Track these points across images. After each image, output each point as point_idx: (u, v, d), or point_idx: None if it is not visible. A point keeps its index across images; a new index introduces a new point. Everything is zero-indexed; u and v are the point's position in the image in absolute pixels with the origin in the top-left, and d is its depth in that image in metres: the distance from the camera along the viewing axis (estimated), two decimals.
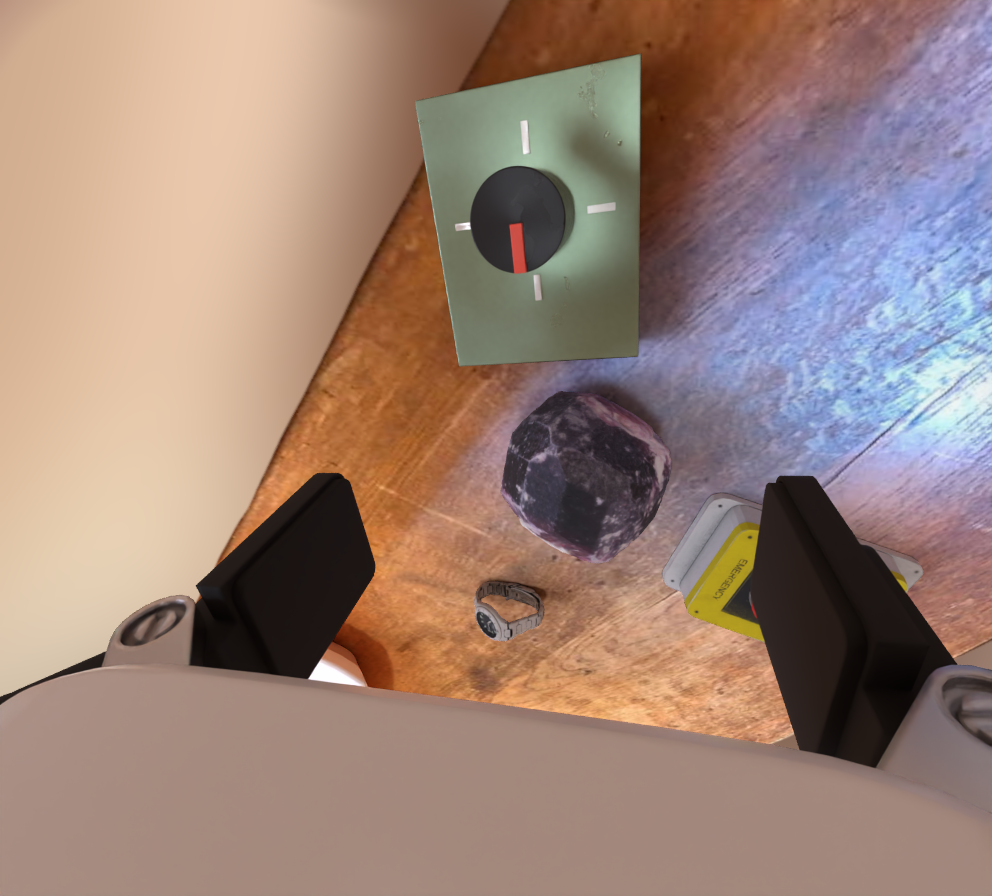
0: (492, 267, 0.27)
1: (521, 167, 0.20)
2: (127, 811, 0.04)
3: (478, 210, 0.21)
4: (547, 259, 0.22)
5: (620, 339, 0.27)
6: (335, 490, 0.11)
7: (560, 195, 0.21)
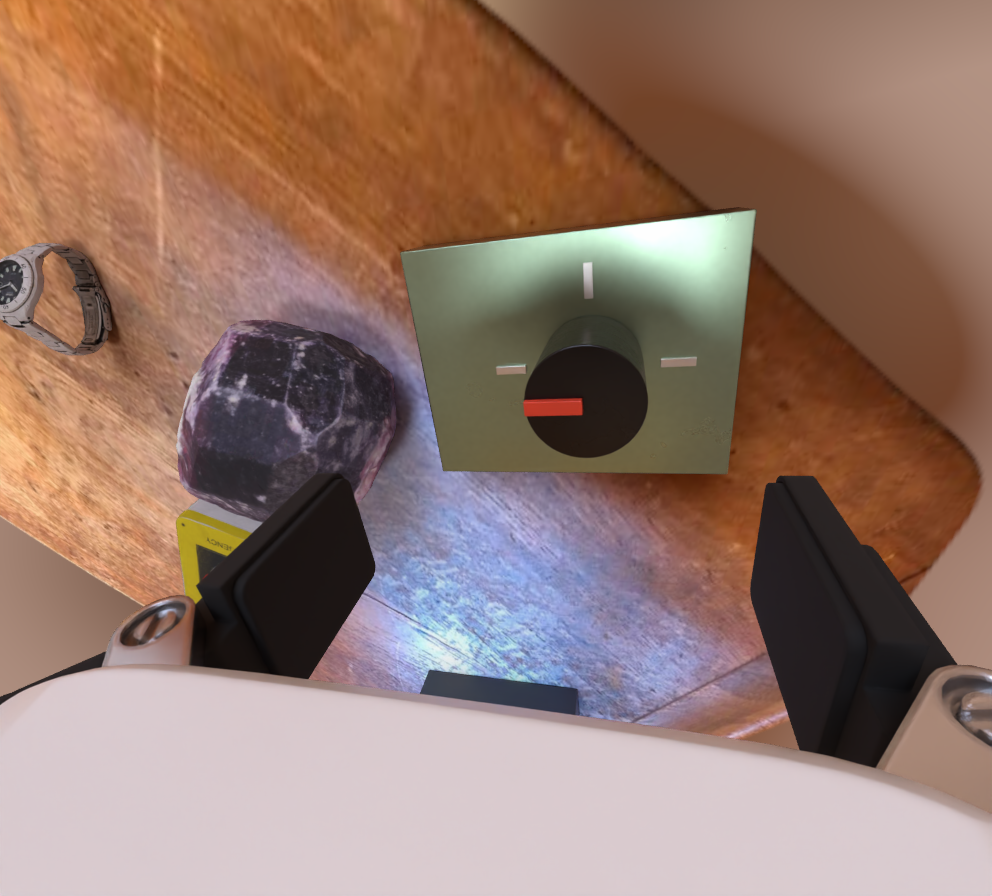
0: (535, 312, 0.20)
1: (644, 414, 0.17)
2: (127, 811, 0.04)
3: (602, 358, 0.16)
4: (539, 437, 0.18)
5: (459, 455, 0.25)
6: (335, 490, 0.11)
7: None
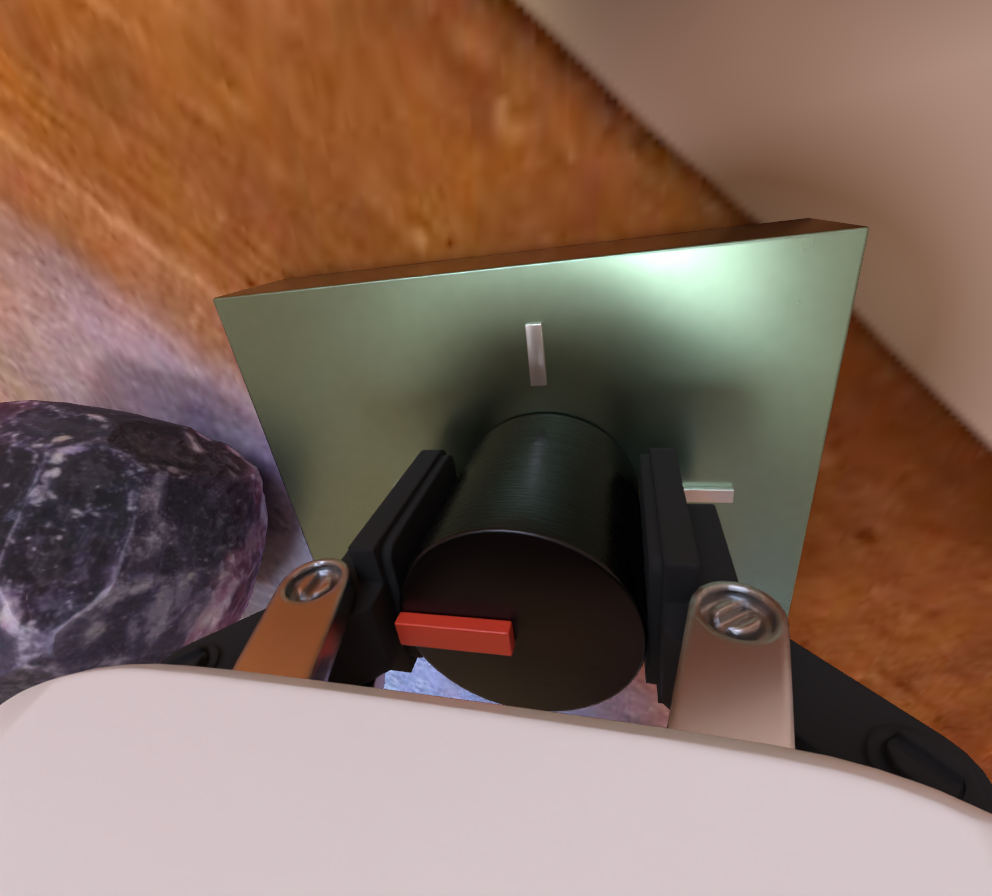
0: (448, 403, 0.12)
1: (641, 660, 0.08)
2: (127, 811, 0.04)
3: (547, 558, 0.07)
4: (438, 669, 0.09)
5: None
6: (444, 465, 0.11)
7: None
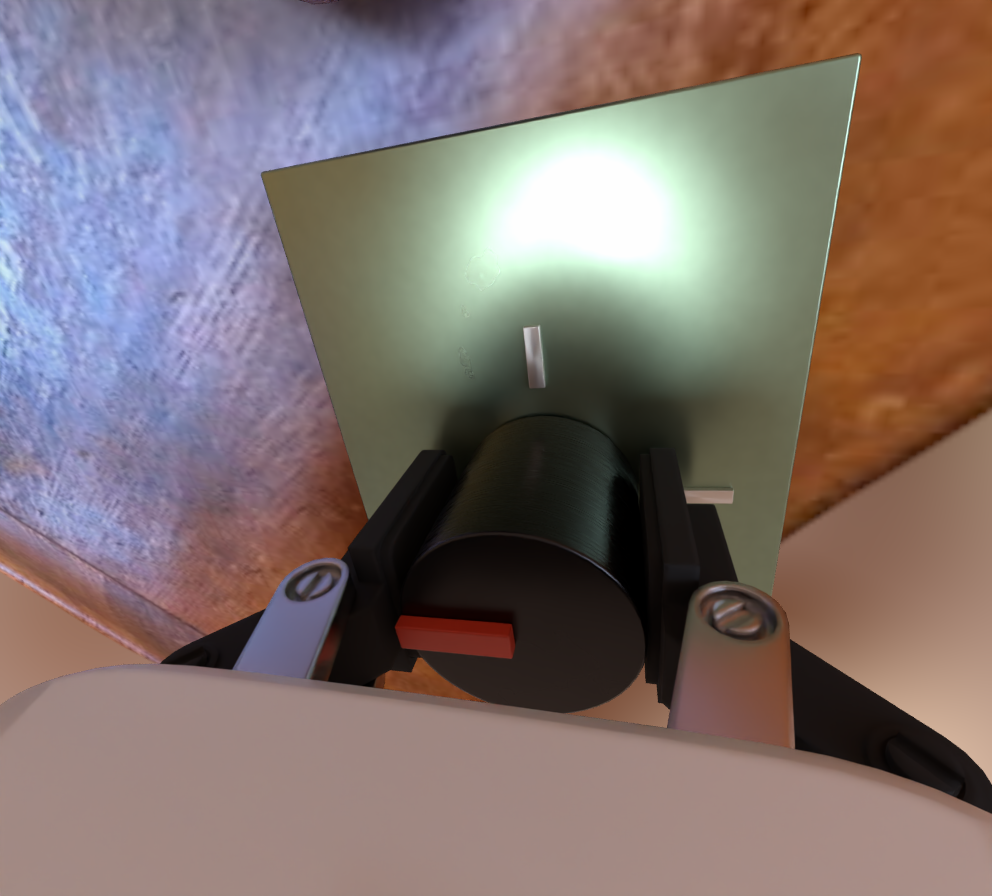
0: (652, 405, 0.10)
1: (641, 662, 0.08)
2: (127, 811, 0.04)
3: (546, 560, 0.07)
4: (439, 672, 0.09)
5: (314, 223, 0.10)
6: (444, 465, 0.11)
7: None
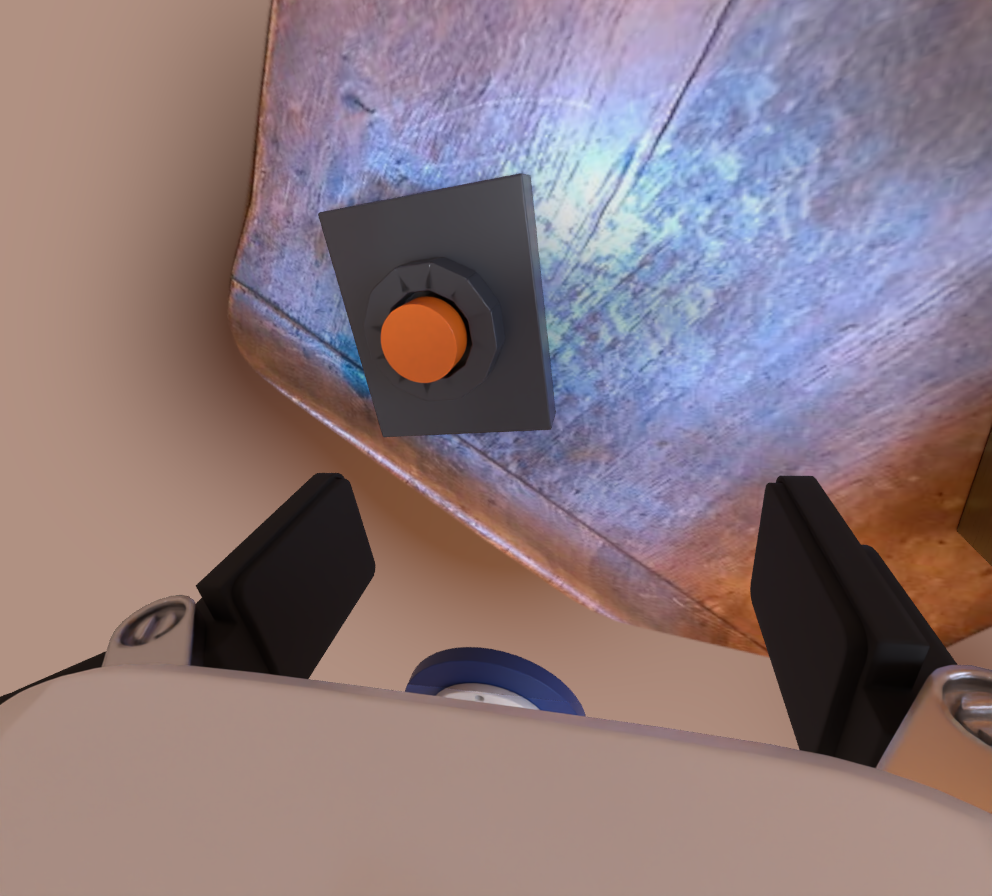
0: None
1: None
2: (127, 811, 0.04)
3: None
4: None
5: None
6: (335, 490, 0.11)
7: None
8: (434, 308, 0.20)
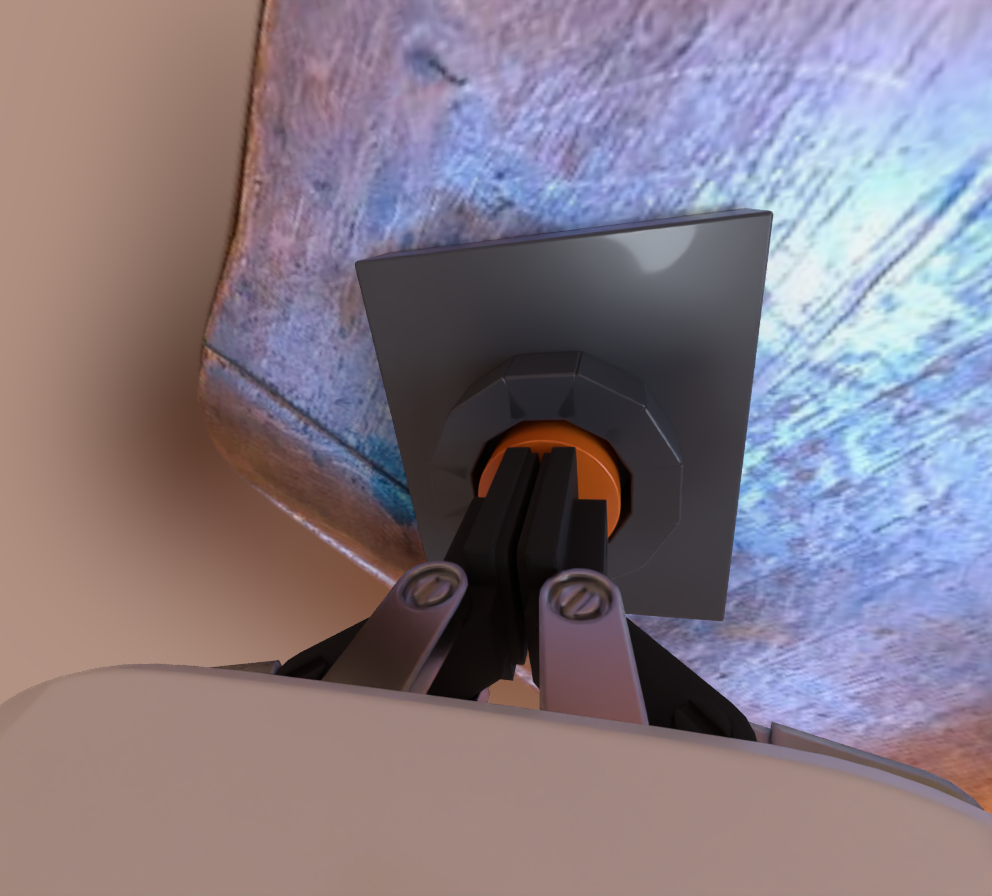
0: None
1: None
2: (127, 811, 0.04)
3: None
4: None
5: None
6: None
7: None
8: (587, 449, 0.11)
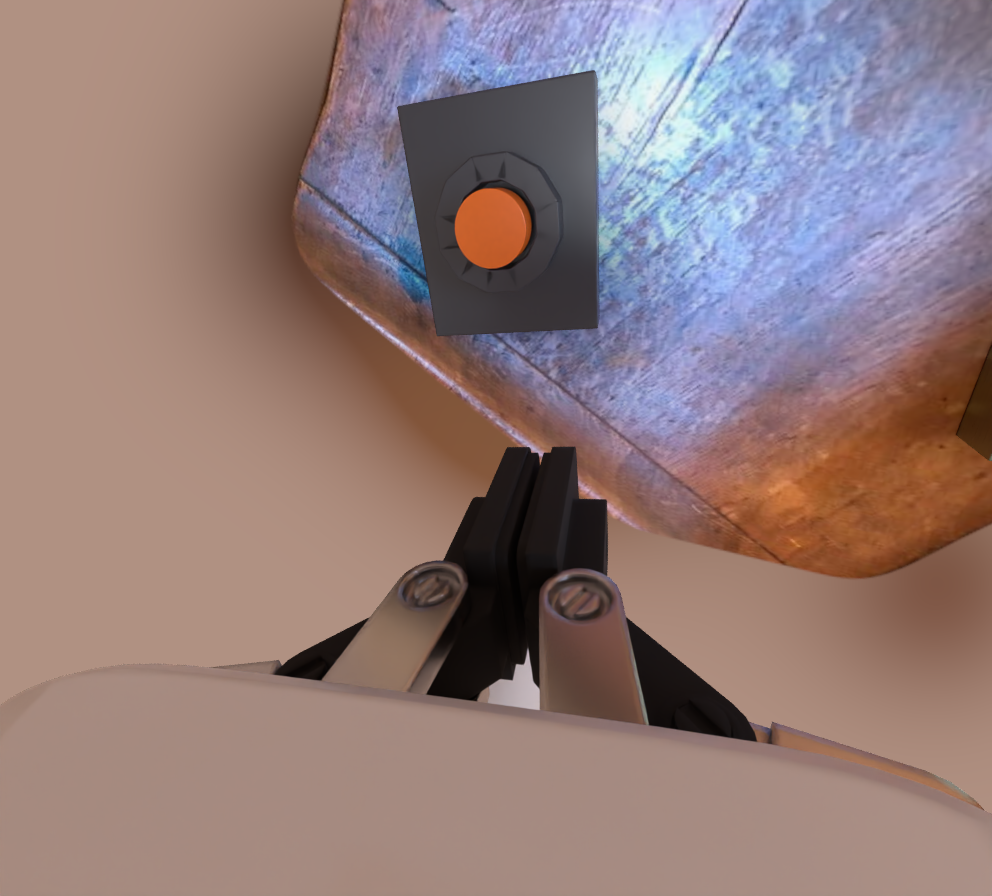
0: None
1: None
2: (127, 811, 0.04)
3: None
4: None
5: None
6: None
7: None
8: (508, 193, 0.22)
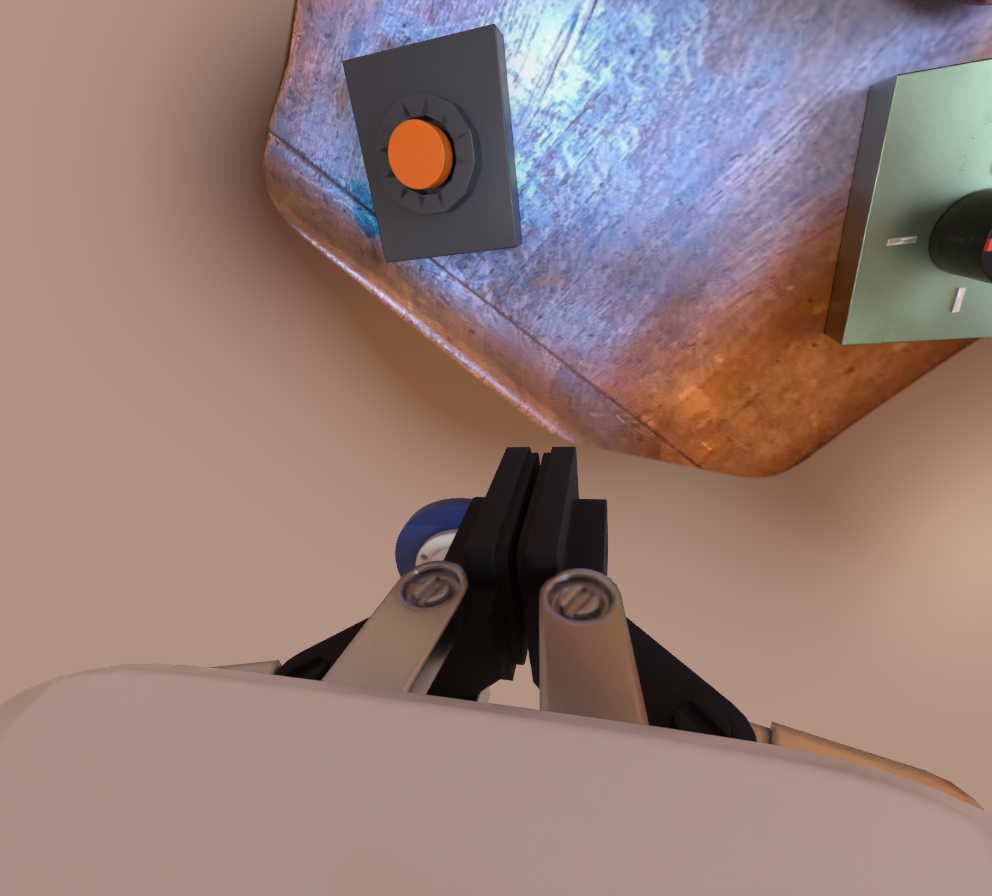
0: None
1: None
2: (126, 811, 0.04)
3: None
4: (986, 271, 0.23)
5: (914, 97, 0.24)
6: None
7: None
8: (428, 123, 0.28)
